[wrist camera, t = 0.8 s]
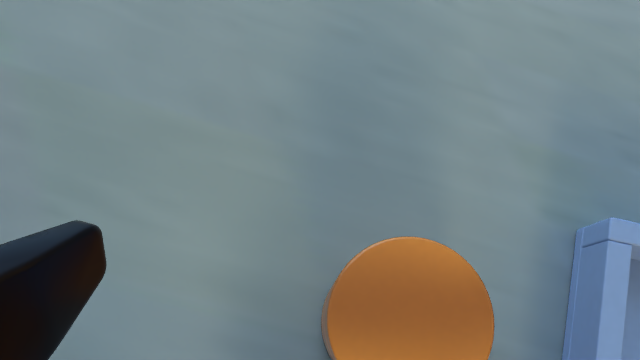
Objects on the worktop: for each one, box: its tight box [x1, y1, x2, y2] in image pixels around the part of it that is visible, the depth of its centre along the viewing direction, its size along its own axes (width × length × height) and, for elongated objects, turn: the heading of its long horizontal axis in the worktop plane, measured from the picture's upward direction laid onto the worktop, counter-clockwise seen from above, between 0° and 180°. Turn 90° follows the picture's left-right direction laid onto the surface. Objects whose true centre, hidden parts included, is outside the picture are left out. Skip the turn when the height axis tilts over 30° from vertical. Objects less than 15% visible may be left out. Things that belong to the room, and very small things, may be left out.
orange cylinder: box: [321, 237, 494, 360], centre depth 19 cm, size 5×5×5 cm
